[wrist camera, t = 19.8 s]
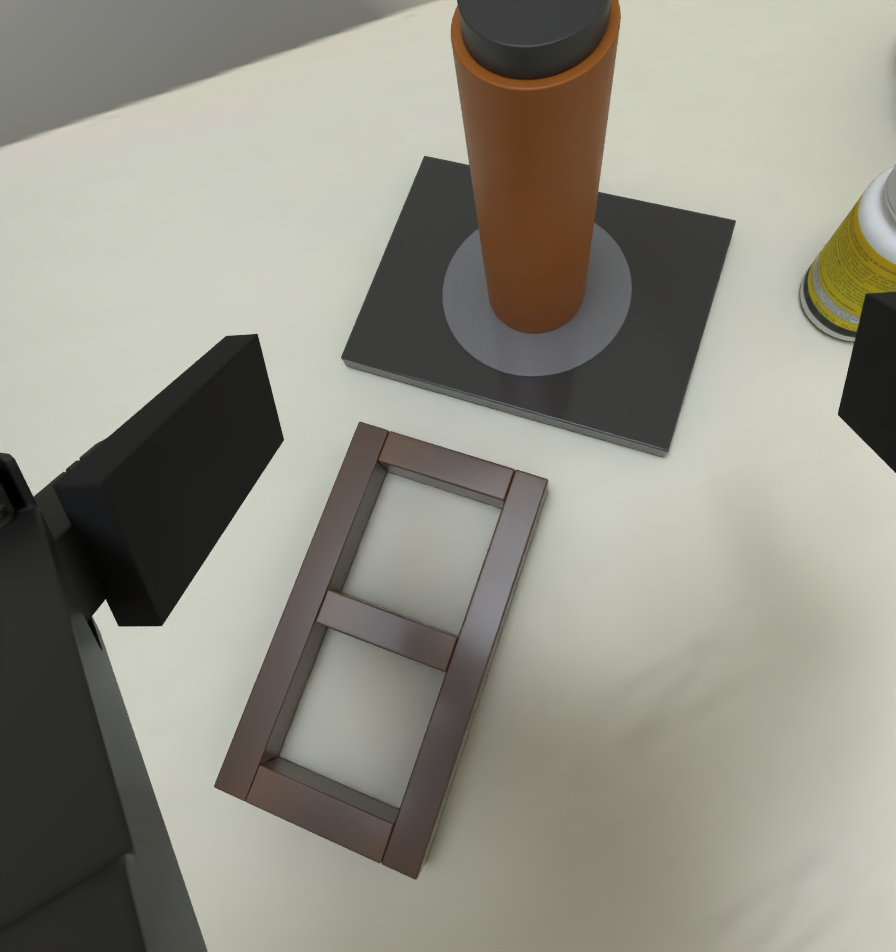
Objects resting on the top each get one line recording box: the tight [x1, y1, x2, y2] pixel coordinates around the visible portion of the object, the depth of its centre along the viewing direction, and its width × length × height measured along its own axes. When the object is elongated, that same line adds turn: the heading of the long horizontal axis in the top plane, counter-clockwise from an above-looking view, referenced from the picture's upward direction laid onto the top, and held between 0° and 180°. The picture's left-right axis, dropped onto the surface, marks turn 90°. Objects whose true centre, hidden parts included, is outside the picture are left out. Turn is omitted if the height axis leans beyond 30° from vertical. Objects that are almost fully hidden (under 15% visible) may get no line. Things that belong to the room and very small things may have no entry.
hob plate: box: [341, 156, 736, 457], centre depth 32 cm, size 16×12×1 cm
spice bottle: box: [451, 0, 621, 333], centre depth 24 cm, size 5×5×15 cm
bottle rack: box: [214, 422, 548, 879], centre depth 28 cm, size 9×16×2 cm, turn 160°
